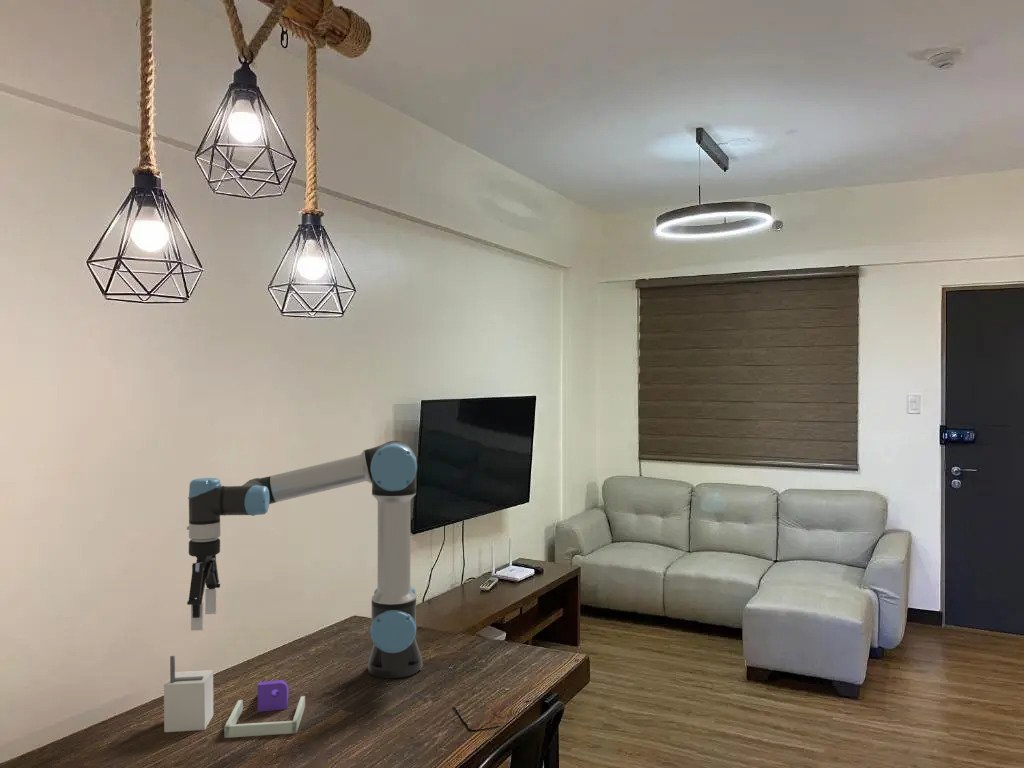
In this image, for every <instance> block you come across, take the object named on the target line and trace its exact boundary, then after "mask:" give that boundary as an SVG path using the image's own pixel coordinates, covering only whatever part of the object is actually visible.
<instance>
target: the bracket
mask: <svg viewBox="0 0 1024 768" xmlns="http://www.w3.org/2000/svg"><path fill="white" fill-rule="evenodd" d="M289 688H290V686H289V685H288V684H287V682H286V681H285V680H283V679H278V680H268V681H265V680H264V681H258V683H257V713H261V712H270V711H280V710H287V709H288V703H289V702H288V700H289V691H290V689H289Z"/></svg>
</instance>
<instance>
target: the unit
mask: <svg viewBox="0 0 1024 768" xmlns="http://www.w3.org/2000/svg"><path fill="white" fill-rule="evenodd" d="M169 658H170V659H169V660H170V661H169V662H170V663H169V664H170V665H169V668H170V669H169V670H170V671H169V672H170V674H169V675H170V677H169V678H167V679H168V680H167V681H166V682H165V683H164V684H163V707H164V708H163V720H164V722H163V726H164V727H163V728H164V731H163V732H164V733H176V732H189V731H190V732H192V731H205V730H206V729H207V726H208V725H209V723H210V722H211V720H212V718H213V716H214V670H213V669H208V670H207V669H206V670H204V669H203V670H191V671H187V670H185V671H176V655H171V656H170V657H169Z"/></svg>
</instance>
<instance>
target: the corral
mask: <svg viewBox="0 0 1024 768" xmlns="http://www.w3.org/2000/svg"><path fill="white" fill-rule="evenodd" d="M243 702H244V700H243V699H238V700H237V702H236V704H235V706H234V708H233V710H232V711H231V714H230V716H229V717H228V719H227V721H226V723H225V724H224V726H223V727H224V729H223V731H224V734H223V735H224V737H223V738H224V739H227V738H228V739H230V738H241V737H243V738H244V737H258V736H259V737H260V736H272V735H288V734H297V733H298V730H299V726H300V724H301V720H302V717H303V714H304V711H305V708H306V695H301V696H300V699H299V701H298V704H297V707H296V710H295V713H294V716H293V719H292V720H285V721H265V722H253V723H252V722H251V723H238V720H239V718H240V716H241V715H242V712H243V711H244V710H243V709H244V706H243V705H244V703H243ZM237 723H238V724H237Z"/></svg>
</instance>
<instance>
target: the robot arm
mask: <svg viewBox="0 0 1024 768" xmlns="http://www.w3.org/2000/svg"><path fill="white" fill-rule="evenodd" d="M415 453H416V452H415V451H414V449H413V448H412V447H411V446H410V445H409V444H407V443H405V442H404V441H401V440H392V441H391V440H390V441H387V442H385V443H382V444H380V445H377V446H375V447H371V448H368V449H363V451H362V452H361V453H360V454H358V455H353V456H349V457H345V458H339V459H337V460H332V461H328V462H324V463H320V464H315V465H311V466H307V467H303V468H297V469H294V470H289V471H286V472H281V473H277V474H273V475H269V476H265V477H256V478H252V479H249V480H248V481H246V482H245V483H244V484H242V485H235V486H234V485H233V486H231V485H230V486H229V485H228V486H227V485H225V486H224V485H222V483H221V480H220V479H219V478H217V477H201V478H195V479H192V480H191V481H190V482H189V487H188V488H189V490H188V491H189V492H188V497H187V499H188V526H186V530H187V531H188V538H189V539H190V540H189V541H188V555H189V556H191V557H195V558H196V562H193V563H192V565H191V569H192V571H191V578H190V579H191V580H190V585H189V586H190V587H189V595H188V600H187V602H186V604H187V605H188V606H190V631H203V630H204V614H205V615H216V614H217V613H218V610H217V609H218V608H217V607H218V604H217V603H218V602H217V601H218V600H217V597H218V593H217V592H218V591H217V589H219V588H221V583H220V581H219V579H220V578H219V573H218V571H219V570H218V566H217V555H218V554H219V553H220V552H221V539H220V537H221V516H223V517H224V516H225V517H226V516H252V517H254V516H259V515H265V514H267V513H268V511H269V507H270V505H272V504H275V503H279V502H283V501H288V500H291V499H296V498H300V497H305V496H309V495H312V494H317V493H321V492H326V491H330V490H334V489H339V488H343V487H346V486H350V485H356V484H360V483H364V482H367V483H369V484H371V495H372V496H373V498H375V500H376V501H377V588H376V589H375V590H374V592H373V595H372V597H371V624H370V627H369V635H370V637H371V640H372V641H371V642H372V643H373V646H372V648H371V652H370V656H369V658H368V662H367V663H368V664H367V672H368V673H369V674H370V675H372V676H373V677H377V678H381V679H400V678H406V677H410V676H412V675H416V674H418V673H419V672H420V671H422V669H423V657H422V654H421V652H420V649H419V646H418V643H417V630H418V629H417V628H418V627H417V594H416V589H415V588H414V587H413V586H411V501H412V499H413V498H414V497H415V496H416V494H417V472H418V461H417V457H416V454H415ZM205 586H206V587H205ZM204 592H205V593H204ZM203 597H205V598H203ZM203 599H205V601H204V602H205V603H203ZM204 604H205V605H204ZM204 606H205V608H204ZM204 609H205V610H204ZM204 611H205V613H204ZM421 668H422V669H421ZM419 670H420V671H419ZM418 671H419V672H418ZM417 672H418V673H417ZM415 673H416V674H415Z"/></svg>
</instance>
